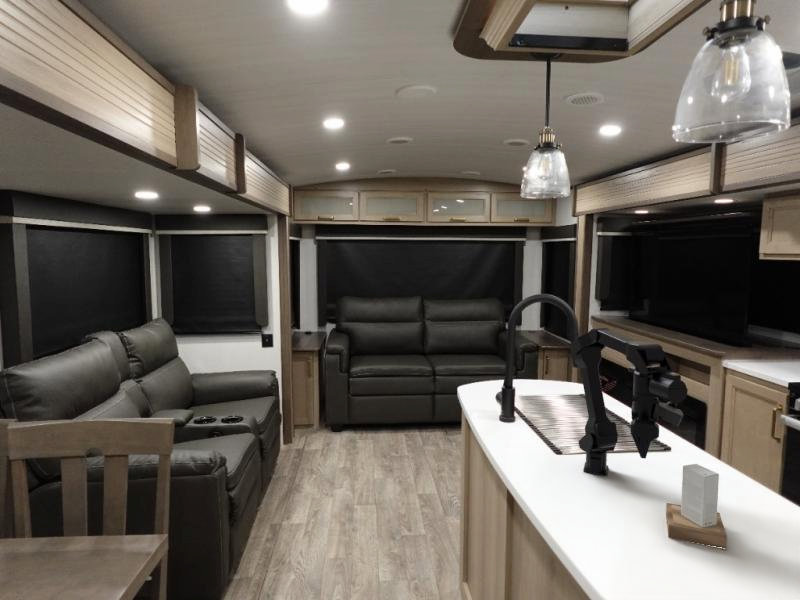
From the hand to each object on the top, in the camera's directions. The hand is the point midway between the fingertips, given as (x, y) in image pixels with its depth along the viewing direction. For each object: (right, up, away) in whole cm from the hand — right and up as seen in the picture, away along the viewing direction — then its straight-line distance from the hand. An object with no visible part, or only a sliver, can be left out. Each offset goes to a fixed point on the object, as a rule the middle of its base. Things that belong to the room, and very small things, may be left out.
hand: (643, 451), depth 127 cm
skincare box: (+5, -11, -15) cm, 19 cm away
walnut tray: (+5, -14, -13) cm, 20 cm away
